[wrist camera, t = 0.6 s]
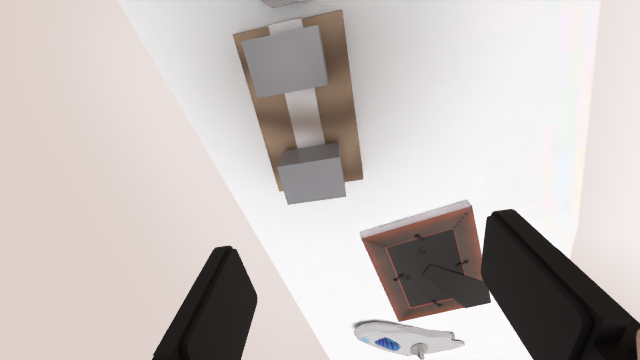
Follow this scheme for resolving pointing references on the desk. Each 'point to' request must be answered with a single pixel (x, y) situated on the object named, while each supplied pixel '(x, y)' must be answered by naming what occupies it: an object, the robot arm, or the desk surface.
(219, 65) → the desk surface
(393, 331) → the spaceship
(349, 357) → the desk surface
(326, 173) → the mounted modules
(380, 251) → the picture frame
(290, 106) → the rail board
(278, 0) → the block
